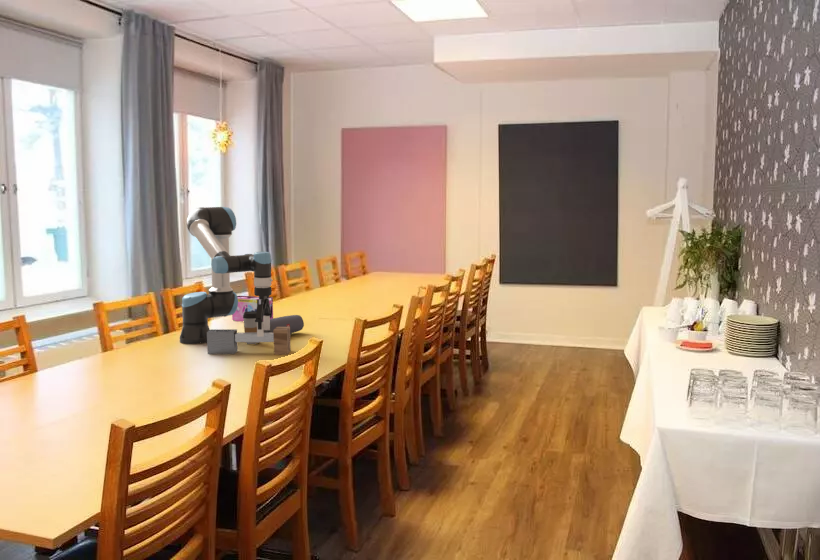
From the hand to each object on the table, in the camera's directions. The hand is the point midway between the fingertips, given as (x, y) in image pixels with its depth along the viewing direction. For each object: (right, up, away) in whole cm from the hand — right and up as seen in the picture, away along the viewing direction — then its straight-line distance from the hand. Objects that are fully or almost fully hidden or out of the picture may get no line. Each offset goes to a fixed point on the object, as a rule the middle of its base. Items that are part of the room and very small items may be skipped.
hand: (263, 333), depth 326 cm
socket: (+8, -9, +1) cm, 12 cm away
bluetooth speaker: (+2, -5, +37) cm, 38 cm away
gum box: (-23, +1, +82) cm, 85 cm away
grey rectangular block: (-19, -9, +1) cm, 21 cm away
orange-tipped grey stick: (-3, -4, 0) cm, 5 cm away
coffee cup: (-9, -7, +21) cm, 24 cm away
